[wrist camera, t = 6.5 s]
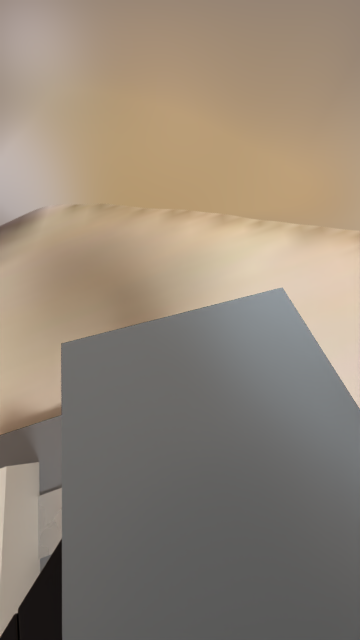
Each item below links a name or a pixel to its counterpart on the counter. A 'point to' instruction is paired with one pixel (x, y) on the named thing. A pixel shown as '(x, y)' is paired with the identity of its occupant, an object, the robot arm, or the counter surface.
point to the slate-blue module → (209, 480)
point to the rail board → (28, 508)
